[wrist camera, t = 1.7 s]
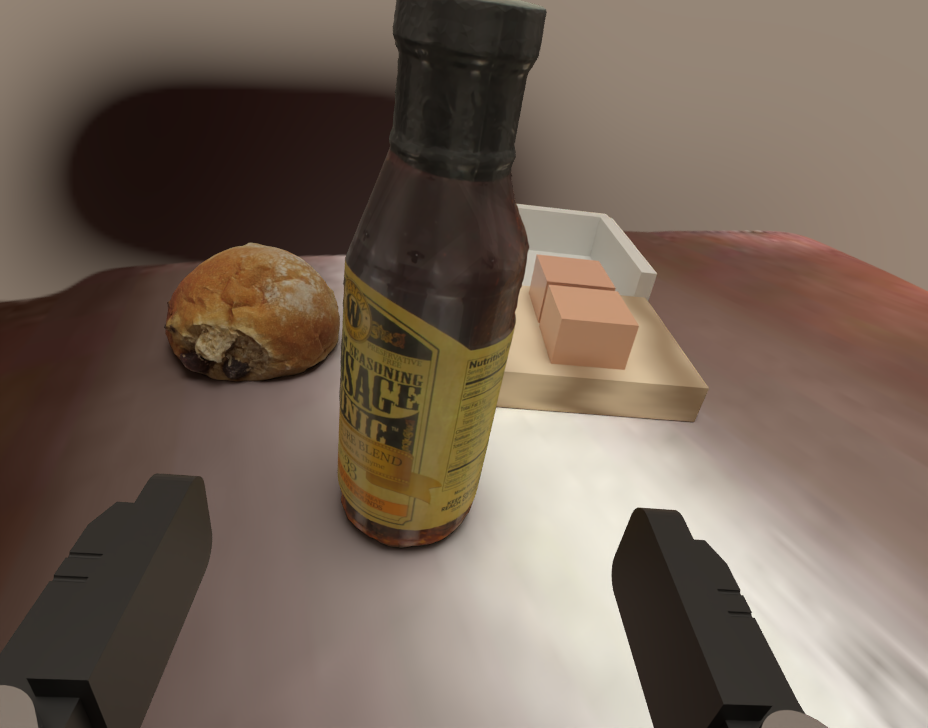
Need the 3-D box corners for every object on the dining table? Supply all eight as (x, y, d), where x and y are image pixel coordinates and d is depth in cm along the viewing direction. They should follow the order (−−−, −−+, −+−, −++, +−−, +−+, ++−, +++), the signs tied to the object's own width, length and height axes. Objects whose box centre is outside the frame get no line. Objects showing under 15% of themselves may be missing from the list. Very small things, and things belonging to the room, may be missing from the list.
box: (597, 258, 56) (609, 214, 54) (639, 326, 44) (657, 273, 42) (451, 243, 55) (457, 197, 52) (455, 309, 43) (462, 253, 41)
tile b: (588, 299, 42) (598, 260, 40) (603, 328, 38) (615, 287, 36) (528, 293, 41) (536, 254, 39) (537, 322, 37) (547, 281, 36)
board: (635, 326, 44) (645, 297, 43) (694, 421, 34) (708, 388, 33) (459, 309, 43) (463, 279, 42) (466, 404, 33) (471, 368, 32)
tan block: (605, 332, 37) (617, 291, 36) (624, 370, 34) (639, 325, 32) (539, 326, 37) (548, 284, 35) (550, 363, 33) (561, 318, 32)
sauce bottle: (316, 479, 26) (304, -35, 16) (430, 442, 30) (485, -5, 19) (378, 587, 22) (420, -23, 11) (504, 530, 25) (628, 12, 15)
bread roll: (349, 405, 37) (392, 293, 36) (208, 408, 29) (258, 261, 27) (262, 344, 42) (297, 243, 41) (119, 330, 34) (157, 202, 32)
